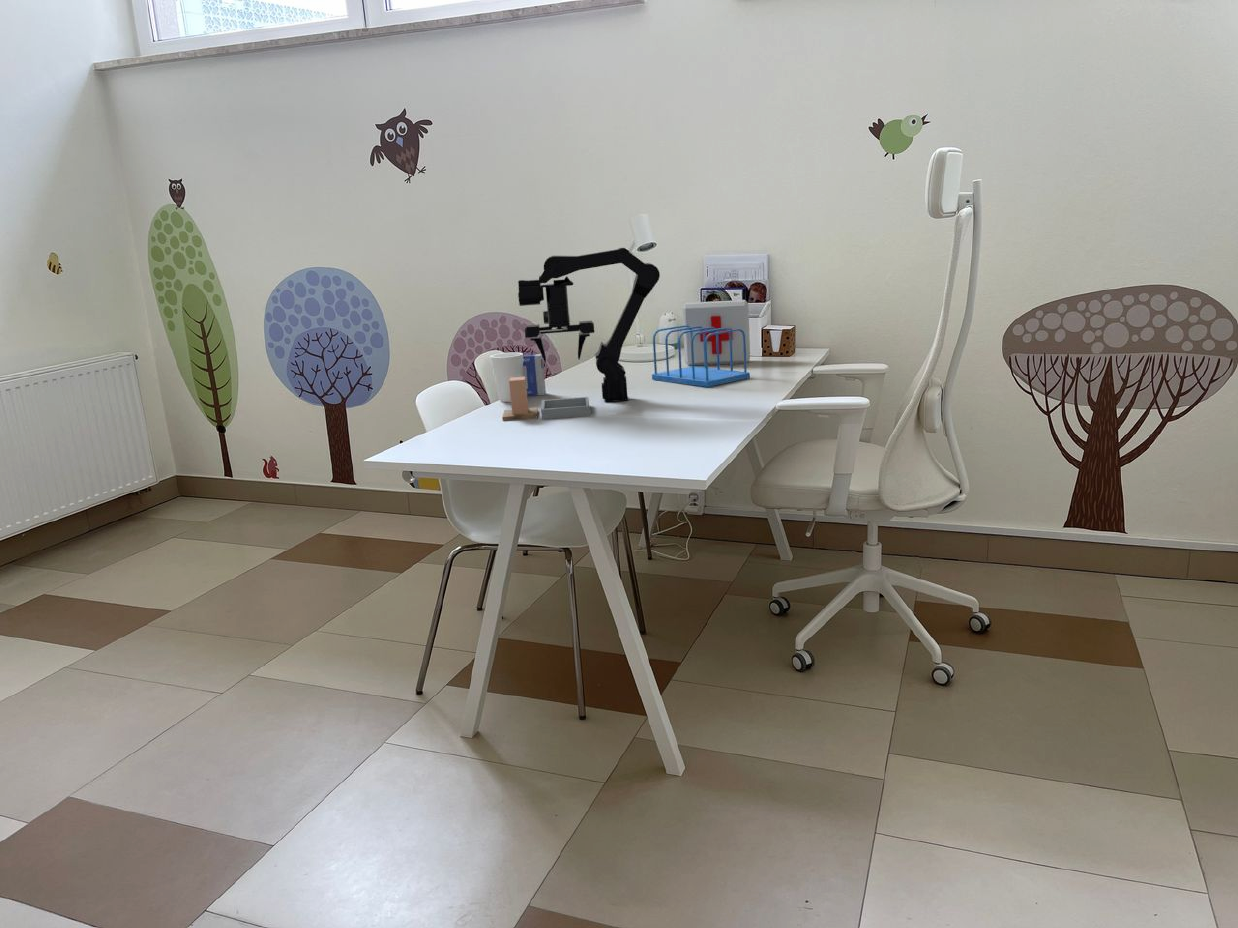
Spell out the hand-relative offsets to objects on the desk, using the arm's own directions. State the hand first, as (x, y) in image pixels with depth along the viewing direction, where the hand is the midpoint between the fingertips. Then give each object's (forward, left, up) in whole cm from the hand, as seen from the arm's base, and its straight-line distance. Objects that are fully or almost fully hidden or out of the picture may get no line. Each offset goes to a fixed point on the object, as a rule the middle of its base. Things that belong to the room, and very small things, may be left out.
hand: (562, 360), depth 258 cm
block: (+12, +12, -11) cm, 20 cm away
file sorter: (-41, -22, -12) cm, 48 cm away
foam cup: (+16, -12, -12) cm, 23 cm away
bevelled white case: (-50, -47, -12) cm, 70 cm away
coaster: (+12, +12, -12) cm, 21 cm away
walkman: (+10, -17, -12) cm, 23 cm away
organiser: (0, +12, -12) cm, 17 cm away
